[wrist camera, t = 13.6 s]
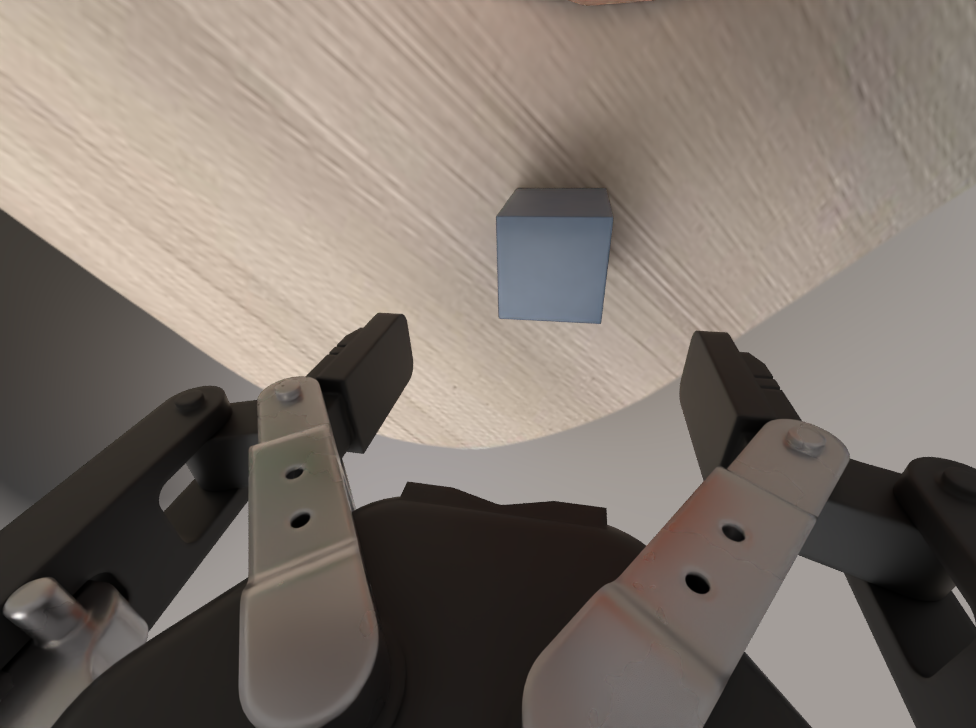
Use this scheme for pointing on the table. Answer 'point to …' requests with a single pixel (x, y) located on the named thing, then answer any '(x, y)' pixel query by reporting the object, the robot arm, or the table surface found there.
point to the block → (553, 254)
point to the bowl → (603, 1)
